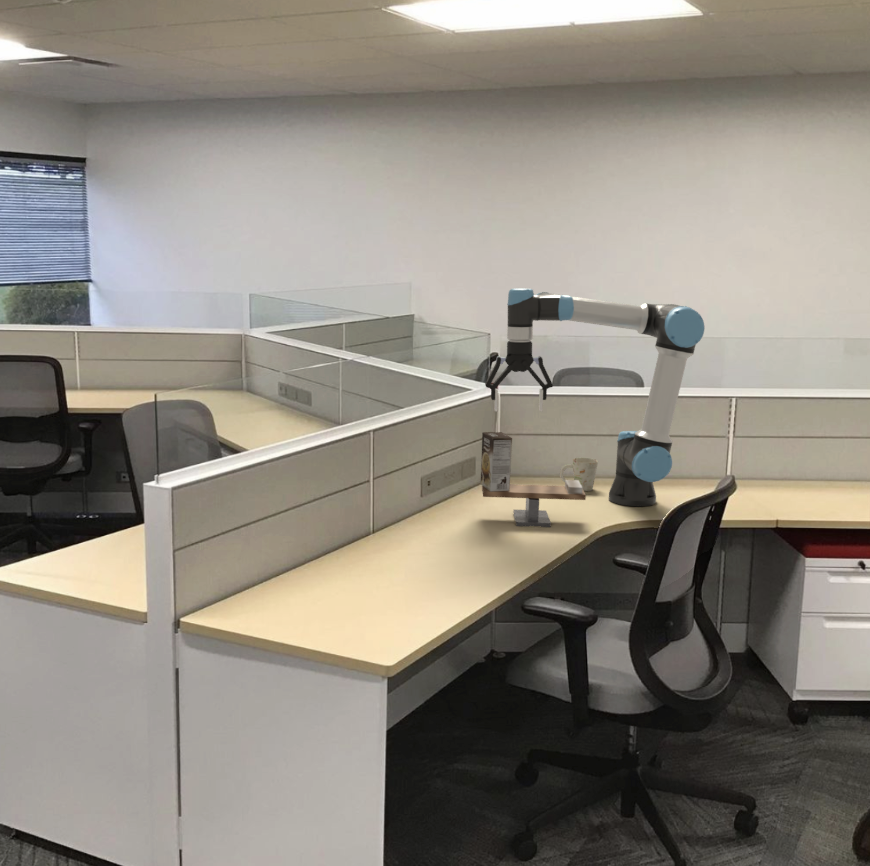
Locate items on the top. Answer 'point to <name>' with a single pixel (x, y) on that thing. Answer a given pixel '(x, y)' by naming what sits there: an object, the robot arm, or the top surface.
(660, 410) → the robot arm
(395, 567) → the top surface
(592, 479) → the mug
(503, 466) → the coffee box
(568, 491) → the beam
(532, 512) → the pivot stand
